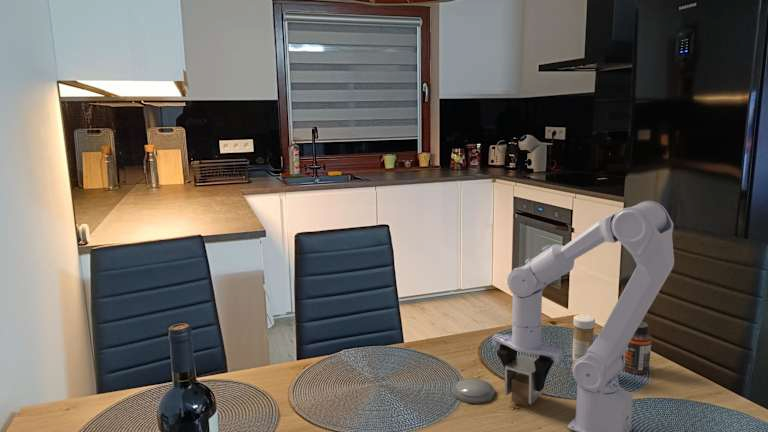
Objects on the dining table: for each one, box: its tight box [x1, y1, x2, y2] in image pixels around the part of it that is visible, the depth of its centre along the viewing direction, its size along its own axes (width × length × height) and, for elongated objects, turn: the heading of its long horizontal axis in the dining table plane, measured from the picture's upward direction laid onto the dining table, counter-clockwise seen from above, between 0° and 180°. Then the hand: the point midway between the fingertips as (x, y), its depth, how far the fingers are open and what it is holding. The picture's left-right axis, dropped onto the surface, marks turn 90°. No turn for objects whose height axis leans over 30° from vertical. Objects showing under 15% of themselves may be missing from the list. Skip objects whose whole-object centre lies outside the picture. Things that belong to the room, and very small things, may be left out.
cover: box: [504, 353, 547, 405], centre depth 112 cm, size 6×7×6 cm
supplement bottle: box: [623, 320, 652, 375], centre depth 124 cm, size 6×6×11 cm
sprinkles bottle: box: [571, 314, 596, 367], centre depth 122 cm, size 5×5×14 cm
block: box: [510, 373, 532, 408], centre depth 112 cm, size 4×4×5 cm
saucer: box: [451, 378, 495, 405], centre depth 116 cm, size 9×9×1 cm
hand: (525, 384), depth 112 cm, fingers closed on cover, 6 cm apart
